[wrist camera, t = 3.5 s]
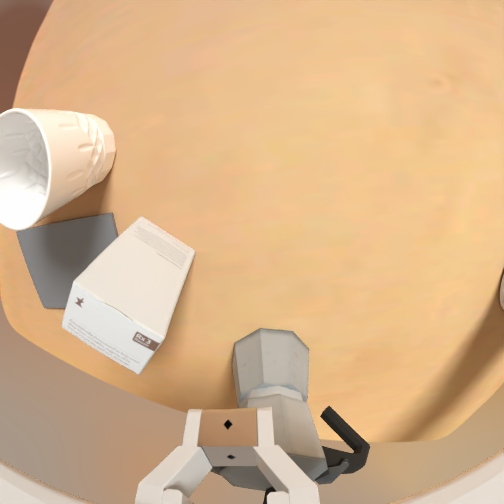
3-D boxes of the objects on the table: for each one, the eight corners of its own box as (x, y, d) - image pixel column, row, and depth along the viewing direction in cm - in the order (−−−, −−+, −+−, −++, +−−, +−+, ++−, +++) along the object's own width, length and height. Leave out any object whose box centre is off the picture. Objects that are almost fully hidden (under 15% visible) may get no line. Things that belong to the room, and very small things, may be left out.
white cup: (111, 202, 23) (46, 246, 14) (48, 181, 22) (-23, 213, 13) (133, 116, 20) (62, 116, 11) (64, 102, 19) (-14, 104, 10)
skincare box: (123, 250, 25) (55, 328, 14) (143, 211, 24) (67, 278, 13) (177, 284, 27) (137, 380, 16) (201, 248, 25) (164, 341, 14)
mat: (112, 212, 24) (110, 213, 23) (138, 306, 28) (137, 308, 27) (18, 230, 24) (16, 231, 24) (45, 305, 28) (43, 307, 28)
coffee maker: (210, 376, 32) (191, 518, 15) (214, 320, 28) (184, 494, 12) (331, 384, 33) (358, 514, 16) (354, 332, 29) (408, 481, 13)
